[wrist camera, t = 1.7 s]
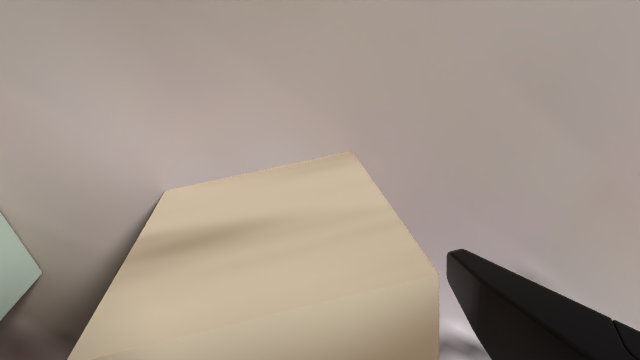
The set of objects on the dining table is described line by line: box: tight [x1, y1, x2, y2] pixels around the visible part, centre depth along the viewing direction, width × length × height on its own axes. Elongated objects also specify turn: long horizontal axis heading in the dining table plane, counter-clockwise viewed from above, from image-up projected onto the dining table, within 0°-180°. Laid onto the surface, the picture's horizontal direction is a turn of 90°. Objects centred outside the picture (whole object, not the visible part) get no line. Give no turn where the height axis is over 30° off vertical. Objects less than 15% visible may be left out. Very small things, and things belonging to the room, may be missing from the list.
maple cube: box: [67, 151, 439, 360], centre depth 8 cm, size 6×6×6 cm
